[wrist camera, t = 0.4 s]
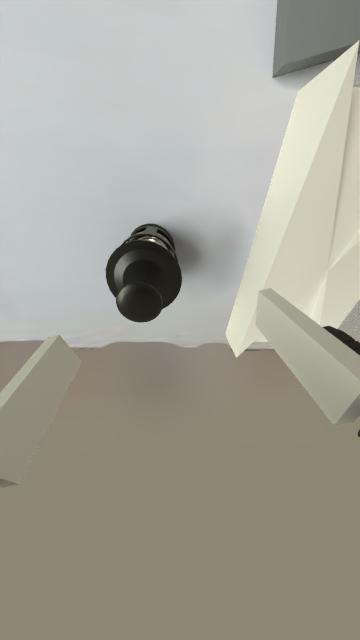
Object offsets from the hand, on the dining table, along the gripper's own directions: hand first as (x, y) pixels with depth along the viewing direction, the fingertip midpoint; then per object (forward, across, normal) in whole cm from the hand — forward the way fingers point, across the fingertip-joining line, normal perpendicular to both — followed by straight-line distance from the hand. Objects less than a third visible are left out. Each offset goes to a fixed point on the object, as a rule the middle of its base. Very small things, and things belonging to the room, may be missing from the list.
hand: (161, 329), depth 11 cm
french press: (+28, -2, -1) cm, 28 cm away
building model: (+28, +29, -9) cm, 41 cm away
